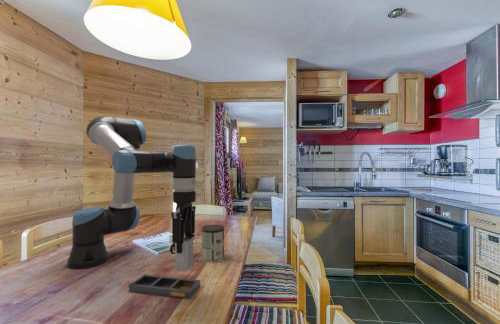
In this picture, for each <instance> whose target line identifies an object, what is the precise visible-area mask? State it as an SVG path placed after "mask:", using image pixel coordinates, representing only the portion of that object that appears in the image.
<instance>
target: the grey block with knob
mask: <svg viewBox="0 0 500 324" xmlns="http://www.w3.org/2000/svg"><path fill="white" fill-rule="evenodd" d="M184 242H185V262H184V263H180V262H176V243H175V252H174V253H175V254H174V271H176V272H177V271H178V272H185V273H186V272H187V273H188V272H189V271H190V270H191V269H192V268H193V267H194V237H184Z"/></svg>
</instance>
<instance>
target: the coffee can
mask: <svg viewBox="0 0 500 324" xmlns="http://www.w3.org/2000/svg"><path fill="white" fill-rule="evenodd" d="M224 259H225V226H224V225H221V224H209V225H204V226H202V227H201V260H202V261H203V262H207V263H216V262H220V261H223V260H224Z"/></svg>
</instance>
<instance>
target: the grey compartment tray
mask: <svg viewBox="0 0 500 324" xmlns="http://www.w3.org/2000/svg"><path fill="white" fill-rule="evenodd" d="M200 287H201V280H200V279H193V278H184V277H183V278H182V277H173V276H172V277H171V276H165V275H154V274H142V275H141V276H140V277H138V278H137V279H136V280H134V281H133V282H132V283H130V284H129V285H128V292H133V293H140V294H148V295H157V296H166V297H171V298H181V299H188V300H189V299H191V298H192V296H193V295H194V294H195V293H196V292H197V290H198V289H199V288H200Z"/></svg>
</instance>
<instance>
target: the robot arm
mask: <svg viewBox="0 0 500 324" xmlns="http://www.w3.org/2000/svg"><path fill="white" fill-rule="evenodd" d="M85 132H86V136H87V138H88V139H89V140H90V141H91V142H92V143H93V144H95V145H98V146H100V147H101V148H102V149H103V150H104V151H105V152H106V153H107V154H108V155H109V156H110V157H111V166H112V167H113V171H114V173H113V174H114V175H113V187H112V188H113V189H112V200H111V201H110V202H109V203H108V205H107V206H108V207H107V208H105V207H103V206H93V207H86V208H83V209H80V210H77V211H75V212H74V214H72V223H71V225H72V245H71V250H70V254H69V257H68V259H66V260H67V262H66V263H67V268H70V269H74V270H75V269H76V270H77V269H78V270H79V269H80V270H81V269H87V268H92V267H95V266H99V265H102V264H103V263H105V262H107V261H108V260H109V253H108V252H109V251H107V248H106V245H105V239H104V237H105V236H107V235H111V234H118V233H123V232H127V231H128V232H129V231H131V230H134V229H136V227H137V226H138V225H139V223H140V217H141V213H140V208H139V207H138V206H137V204H136V202H135V201H134V200H133V198H134V186H135V185H134V183H135V175H136V174H147V173H149V174H151V173H152V174H153V173H160V174H161V173H172V190H173V191H172V202H173V203H174V204H176V207H175V211H171V222H172V223H171V225H172V226H171V227H172V228H171V230H172V231H171V233H172V237H171V241H172V244H173V243H176V262H180V263H184V262H185V242H184V233H185V237H193V238H195V232H196V210H197V207H196V205H193V204H192V203H195V202H196V197H197V196H196V195H197V193H196V188H197V186H196V184H197V182H198V181H197V180H196V175H197V174H196V173H197V171H196V170H197V153H196V146H194V145H191V144H176V145H173V148H172V151H158V150H156V151H154V150H140V149H141V146H142V145H144V144H145V143H146V141H147V131H146V127H145V125H144V124H143V122H142V121H140V120H138V119H135V118H125V117H118V116H111V115H110V116H109V115H102V116H97V117H95V118H92V119H91V120H90V121H89V122H88V124H87V126H86V130H85Z"/></svg>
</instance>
